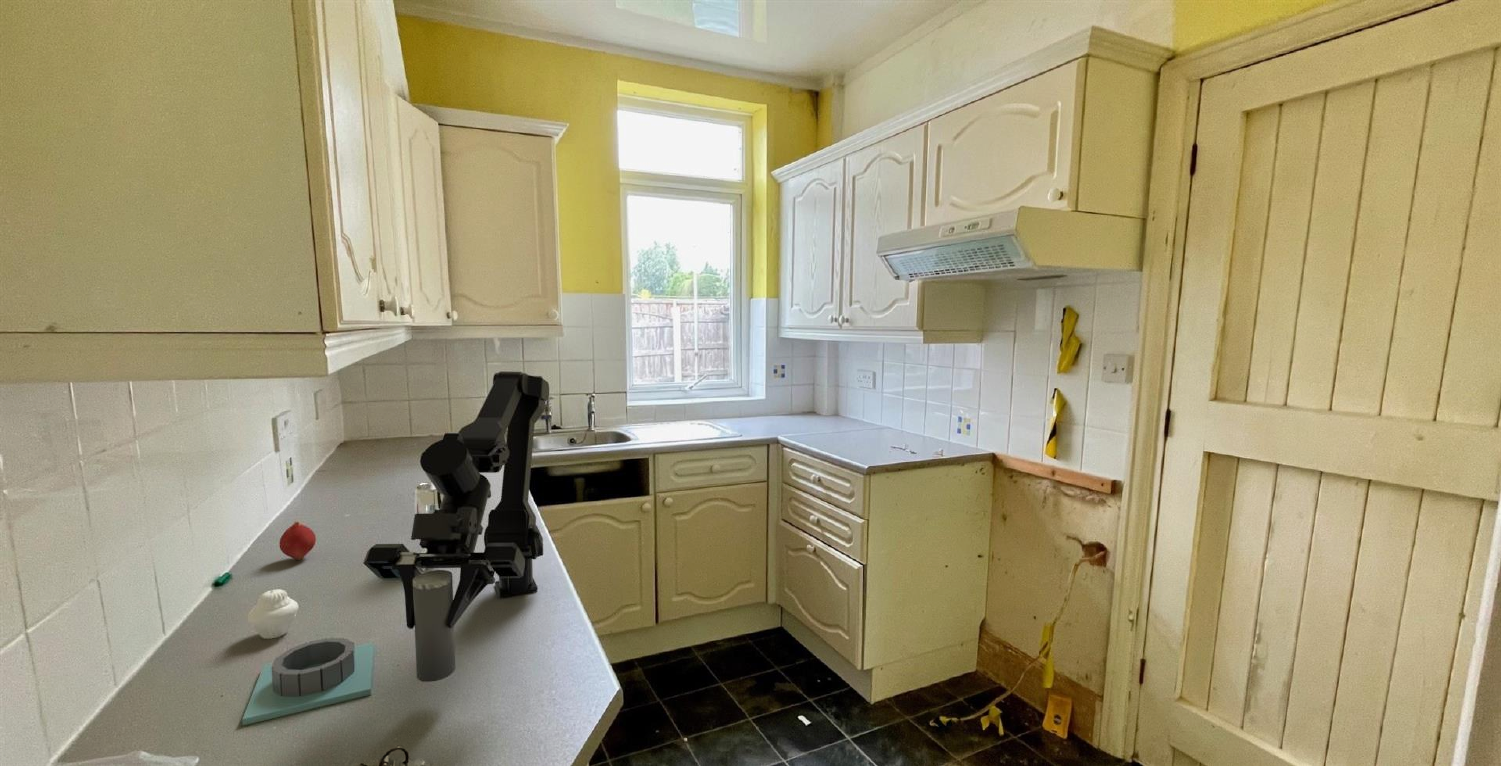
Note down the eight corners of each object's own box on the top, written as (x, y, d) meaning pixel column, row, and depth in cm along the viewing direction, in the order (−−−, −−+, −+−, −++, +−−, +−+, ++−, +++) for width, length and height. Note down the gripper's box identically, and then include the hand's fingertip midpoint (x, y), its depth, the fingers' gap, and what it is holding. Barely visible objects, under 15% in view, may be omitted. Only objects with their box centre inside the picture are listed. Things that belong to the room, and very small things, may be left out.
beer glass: (445, 548, 129) (443, 479, 128) (461, 557, 125) (459, 485, 123) (410, 558, 124) (408, 485, 122) (426, 567, 120) (423, 492, 118)
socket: (264, 670, 84) (262, 644, 84) (374, 647, 91) (373, 622, 90) (242, 725, 73) (240, 695, 73) (370, 694, 79) (369, 666, 79)
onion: (273, 563, 120) (270, 523, 119) (300, 552, 126) (298, 514, 125) (296, 566, 119) (294, 526, 118) (323, 555, 124) (321, 517, 123)
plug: (416, 667, 79) (412, 573, 77) (454, 658, 81) (451, 567, 80) (416, 685, 75) (412, 587, 74) (456, 675, 77) (453, 580, 76)
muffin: (308, 629, 95) (305, 586, 95) (262, 648, 90) (259, 602, 89) (286, 620, 98) (283, 578, 97) (240, 637, 93) (237, 593, 92)
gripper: (367, 484, 79) (318, 606, 69) (516, 483, 80) (490, 603, 70) (400, 522, 87) (361, 636, 77) (534, 521, 89) (512, 633, 79)
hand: (429, 627), depth 76 cm, fingers closed on plug, 4 cm apart
